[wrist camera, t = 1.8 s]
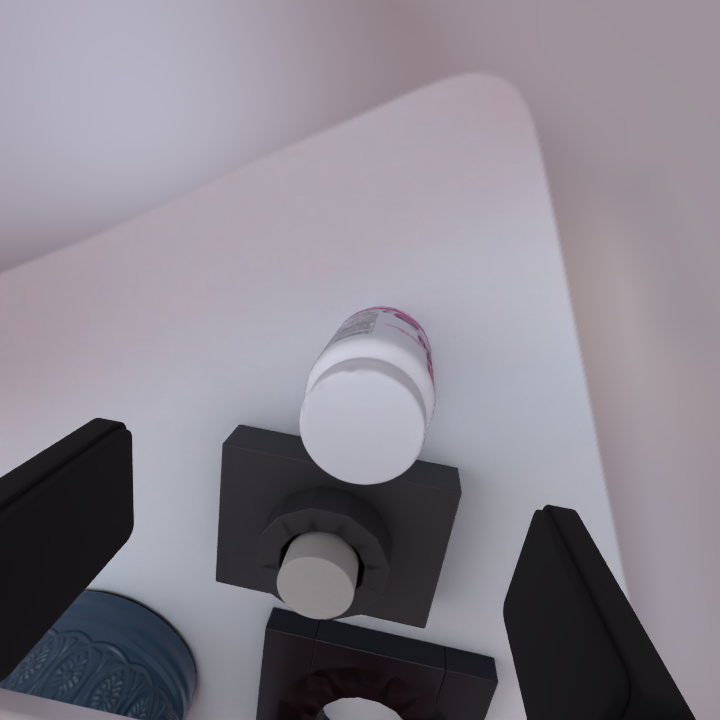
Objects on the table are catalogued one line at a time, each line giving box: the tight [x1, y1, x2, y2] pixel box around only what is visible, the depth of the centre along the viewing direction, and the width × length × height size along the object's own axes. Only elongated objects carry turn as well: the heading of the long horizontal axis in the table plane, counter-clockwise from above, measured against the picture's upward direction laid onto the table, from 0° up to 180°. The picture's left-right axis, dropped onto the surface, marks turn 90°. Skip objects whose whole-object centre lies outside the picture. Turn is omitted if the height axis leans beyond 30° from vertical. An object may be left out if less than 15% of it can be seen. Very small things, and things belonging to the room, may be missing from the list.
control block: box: [216, 425, 462, 628], centre depth 23 cm, size 12×9×4 cm
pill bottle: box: [300, 307, 435, 485], centre depth 17 cm, size 5×5×8 cm
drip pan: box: [256, 608, 498, 720], centre depth 29 cm, size 14×14×2 cm
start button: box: [277, 531, 359, 619], centre depth 21 cm, size 4×4×2 cm
